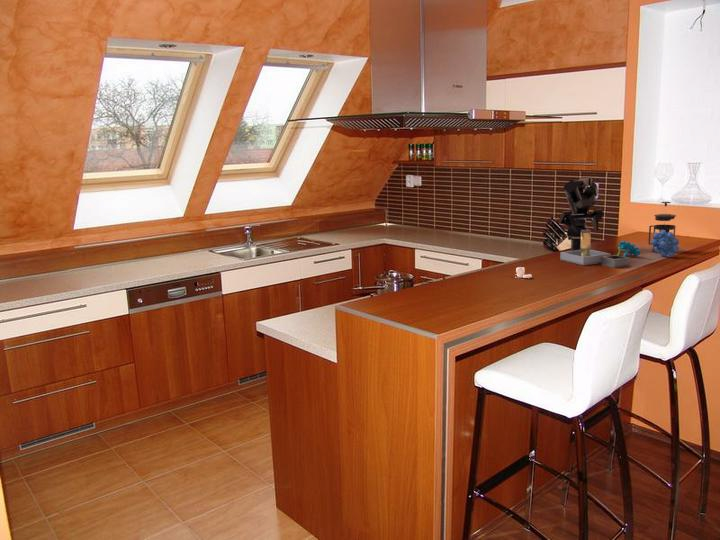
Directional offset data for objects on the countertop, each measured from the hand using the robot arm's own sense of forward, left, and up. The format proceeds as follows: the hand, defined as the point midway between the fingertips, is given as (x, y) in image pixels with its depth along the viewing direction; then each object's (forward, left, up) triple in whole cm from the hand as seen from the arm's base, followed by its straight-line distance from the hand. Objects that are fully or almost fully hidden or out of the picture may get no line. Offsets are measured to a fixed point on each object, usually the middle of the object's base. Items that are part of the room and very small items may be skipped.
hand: (587, 231), depth 264 cm
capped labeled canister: (-1, +1, -13) cm, 13 cm away
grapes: (+11, +33, -13) cm, 37 cm away
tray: (-1, 0, -13) cm, 13 cm away
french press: (0, +43, -13) cm, 45 cm away
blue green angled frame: (+1, +22, -14) cm, 26 cm away
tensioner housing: (+13, +3, -13) cm, 19 cm away
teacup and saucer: (+12, -44, -14) cm, 48 cm away
